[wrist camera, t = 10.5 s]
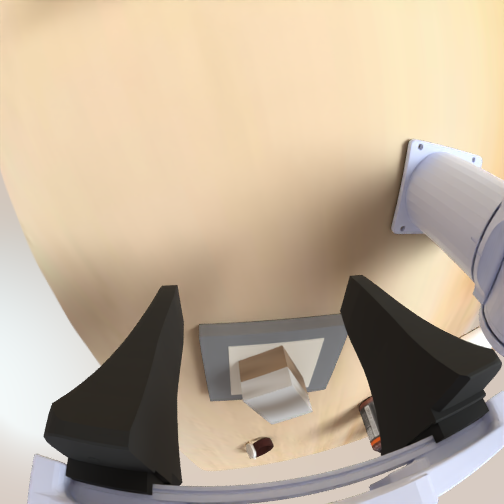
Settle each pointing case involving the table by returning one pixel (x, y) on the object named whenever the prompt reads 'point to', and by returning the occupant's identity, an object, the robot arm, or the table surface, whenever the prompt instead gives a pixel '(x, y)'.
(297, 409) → the block
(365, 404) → the supplement bottle
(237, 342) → the stand
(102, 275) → the table surface
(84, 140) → the table surface
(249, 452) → the watch
